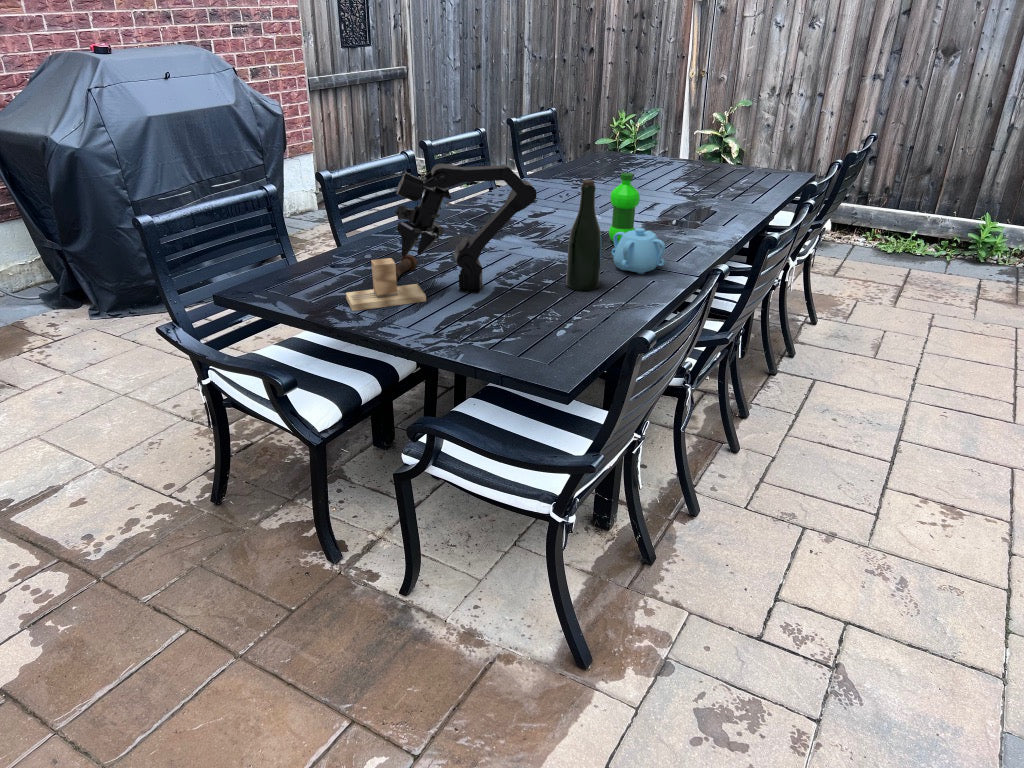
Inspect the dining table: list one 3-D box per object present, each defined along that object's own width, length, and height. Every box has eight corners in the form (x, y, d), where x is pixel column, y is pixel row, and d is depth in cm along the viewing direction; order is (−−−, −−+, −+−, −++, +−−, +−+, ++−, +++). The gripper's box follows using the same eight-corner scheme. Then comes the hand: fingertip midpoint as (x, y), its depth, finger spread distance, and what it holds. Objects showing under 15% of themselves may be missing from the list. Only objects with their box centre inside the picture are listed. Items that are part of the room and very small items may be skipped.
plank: (417, 289, 230) (417, 283, 229) (426, 301, 222) (425, 294, 221) (346, 298, 223) (345, 292, 222) (352, 311, 214) (351, 304, 214)
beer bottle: (603, 290, 231) (610, 184, 215) (570, 292, 229) (575, 185, 213) (594, 279, 240) (601, 175, 224) (562, 280, 238) (567, 176, 222)
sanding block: (393, 289, 224) (391, 257, 219) (397, 295, 220) (395, 263, 215) (373, 292, 222) (371, 260, 217) (377, 298, 218) (374, 265, 213)
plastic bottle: (632, 248, 268) (639, 178, 256) (604, 245, 270) (609, 176, 259) (637, 240, 276) (644, 172, 264) (610, 237, 279) (615, 170, 267)
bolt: (384, 288, 236) (409, 272, 248) (395, 283, 233) (420, 267, 245) (375, 272, 234) (400, 256, 246) (386, 266, 232) (411, 251, 243)
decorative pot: (608, 260, 256) (611, 221, 250) (654, 260, 257) (658, 221, 250) (616, 277, 242) (619, 236, 235) (665, 276, 243) (669, 236, 236)
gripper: (423, 195, 227) (405, 241, 232) (390, 194, 210) (372, 244, 216) (452, 211, 224) (434, 258, 230) (422, 211, 207) (403, 262, 213)
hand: (410, 255), depth 222 cm, fingers open, 9 cm apart
